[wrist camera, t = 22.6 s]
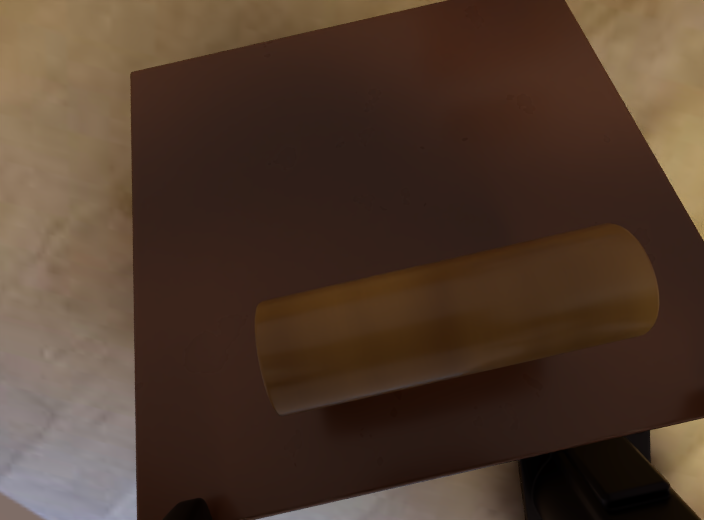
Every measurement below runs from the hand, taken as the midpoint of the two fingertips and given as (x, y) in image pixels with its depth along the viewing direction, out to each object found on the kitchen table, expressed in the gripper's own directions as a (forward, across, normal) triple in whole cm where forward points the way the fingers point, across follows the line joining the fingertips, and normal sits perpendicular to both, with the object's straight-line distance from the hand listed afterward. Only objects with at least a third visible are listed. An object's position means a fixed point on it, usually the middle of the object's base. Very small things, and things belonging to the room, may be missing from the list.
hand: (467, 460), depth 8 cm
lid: (+4, 0, -3) cm, 5 cm away
